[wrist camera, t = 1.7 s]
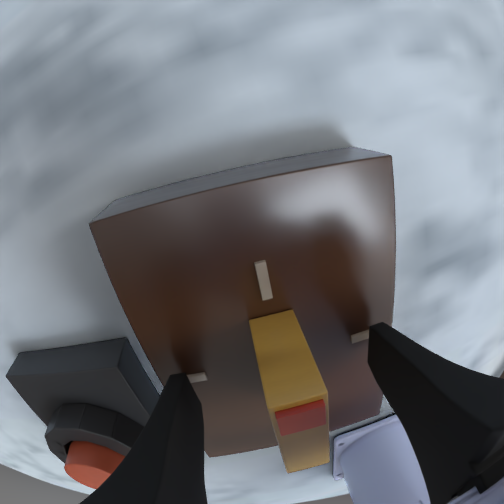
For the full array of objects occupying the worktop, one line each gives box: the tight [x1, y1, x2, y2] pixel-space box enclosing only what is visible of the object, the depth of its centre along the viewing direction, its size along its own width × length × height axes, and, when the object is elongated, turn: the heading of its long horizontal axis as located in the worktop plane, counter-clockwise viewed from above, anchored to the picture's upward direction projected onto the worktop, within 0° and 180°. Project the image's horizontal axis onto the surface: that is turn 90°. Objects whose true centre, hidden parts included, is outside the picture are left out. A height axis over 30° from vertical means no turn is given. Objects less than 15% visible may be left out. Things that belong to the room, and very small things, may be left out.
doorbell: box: [6, 338, 160, 463], centre depth 14 cm, size 11×8×4 cm
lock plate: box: [89, 147, 396, 457], centre depth 13 cm, size 14×10×3 cm
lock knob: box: [249, 310, 330, 473], centre depth 10 cm, size 5×2×4 cm, turn 11°
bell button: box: [64, 441, 125, 489], centre depth 12 cm, size 4×4×2 cm
